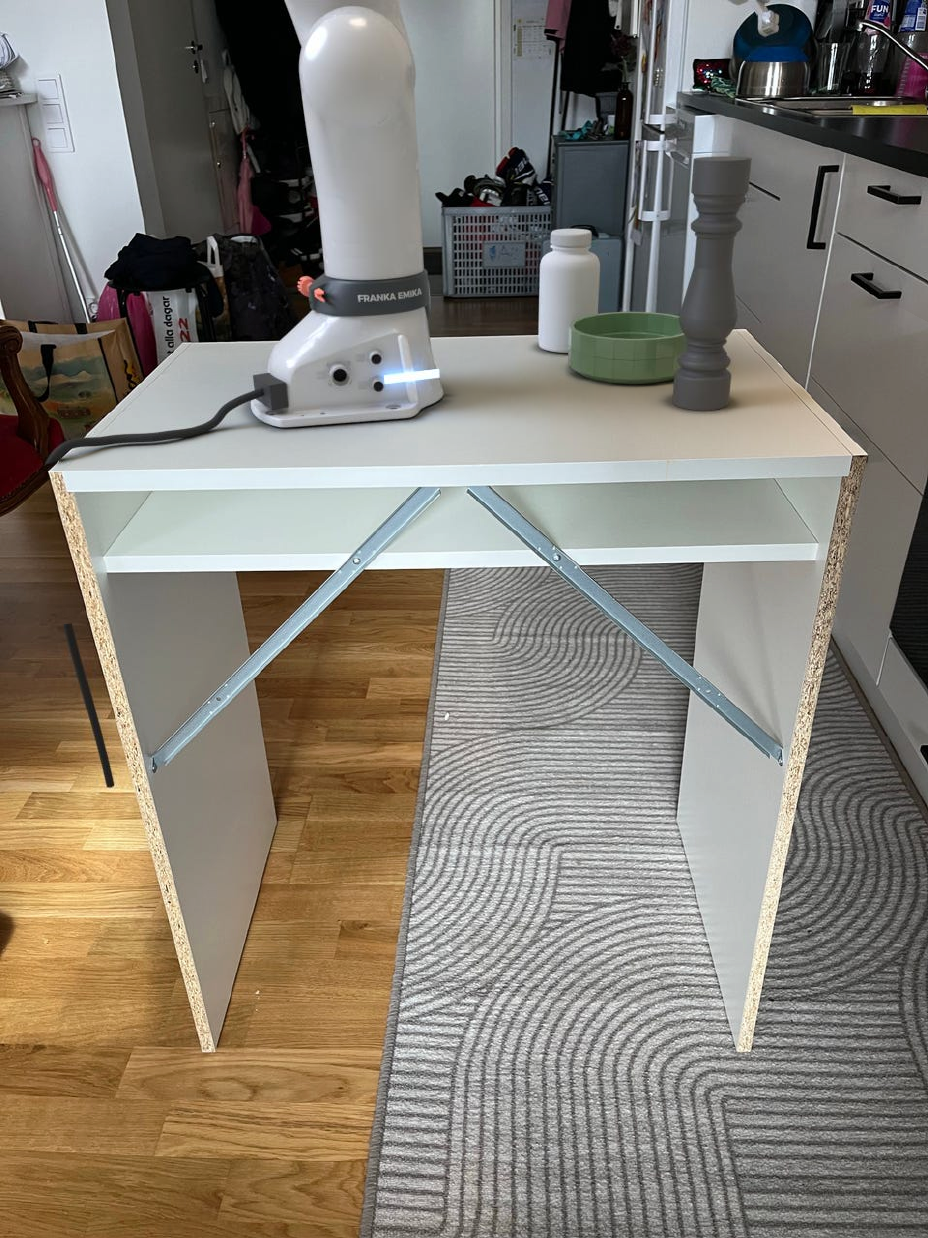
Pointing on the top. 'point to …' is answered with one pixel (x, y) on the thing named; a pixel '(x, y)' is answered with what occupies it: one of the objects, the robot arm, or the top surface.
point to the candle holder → (711, 283)
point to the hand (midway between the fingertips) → (810, 16)
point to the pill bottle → (566, 286)
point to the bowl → (626, 347)
